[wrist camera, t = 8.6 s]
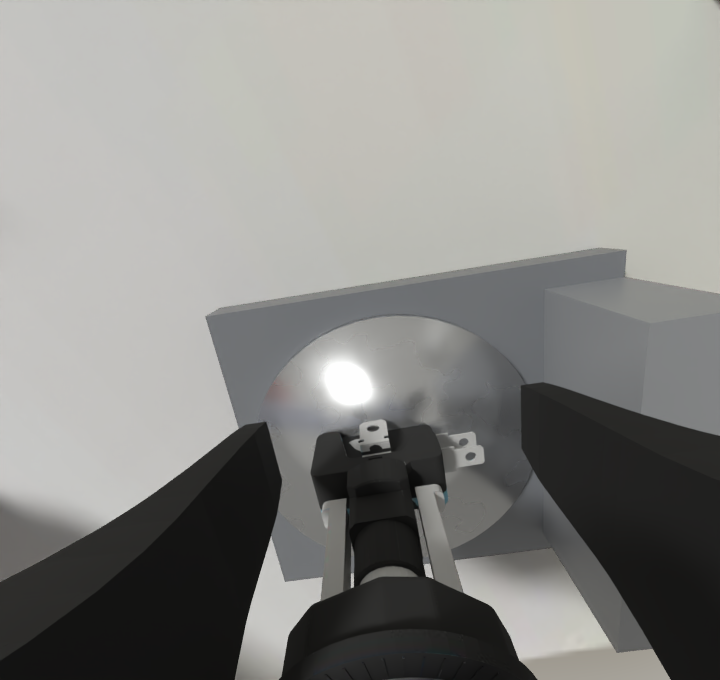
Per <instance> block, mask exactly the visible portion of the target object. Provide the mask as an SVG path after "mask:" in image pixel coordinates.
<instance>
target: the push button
mask: <svg viewBox="0 0 720 680" xmlns="http://www.w3.org/2000/svg"><path fill="white" fill-rule="evenodd" d="M373 426H377V427H379V429H378V430H377V431H374V432H369V431H367V430H368V428H370V427H373ZM359 429H360V435H357V436H352V437H346V438H342V437H341V434H340V433H339V432H329V433H323V434H321V435H319V436H318V437H317V440H316V445H315V451H314V456H313V461H312V466H311V472H310V473H311V477H312V481H313V484H314V488H315V492H316V495H317V499H318V503H319V506H320V509H321V513H322V519H323V522H324V526H325V527H326V528H327V540H326V550H325V561H324V571H323V582H322V592H321V601H320V602H317V603H315V604H313V605H312V606H311V607H310V608H309V609H308V610H307V612H306V613H305V614H304V615H303V617H302V618H301V619H300V621H299V622H298V623H297V624H296V626H295V627H294V628H293V629H292V631H291V632H290V634H289V637H288V642H287V648H286V654H285V660H284V666H283V672H282V677H281V678H280V679H279V680H537V679H536V677H535V676H534V675H533V673H532V672H531V671H530V670H529V669H528V668H527V667H526V666H525V665H524V664H523V663H521V662H520V661H519V659H518V657H517V654H516V651H515V649H514V646H513V643H512V641H511V638H510V636H509V634H508V632H507V630H506V629H505V627H504V625H503V624H502V622H501V620H500V619H499V617H498V615H497V614H496V612H495V610H494V609H493V608H492V607H491V606H489V605H488V604H486V603H483V602H481V601H479V600H477V599H475V598H473V597H471V596H468V595H466V594H464V593H463V590H462V586H461V583H460V579H459V576H458V572H457V569H456V566H455V562H454V559H453V555H452V552H451V549H450V545H449V542H448V538H447V535H446V531H445V528H444V525H443V521H442V518H441V514H440V513H441V512H443V511H444V510H445V504H446V503H447V502H448V493H447V485H446V478H445V473H448V472H454V471H457V468H458V467H465V466H471V465H477V464H483V463H484V462H485V460H484V449H483V446H481V445H477V444H476V434H475V433H474V432H467V433H461V434H455V435H449V436H448V433H441V434H435V433H434V432H433V431H432V428H431V427H430V426H429V425H417V426H411V427H405V428H399V429H393V430H387V424H386V421H385V420H382V419H381V420H375V421H369V422H363V423H362V424H361V425H359ZM463 438H466V439H468V444H467V445H465V446H461V445H459V441H460V440H461V439H463ZM469 452H473V453H475V454H476V456H475V458H474V459H472V460H467V459H466V458H465V456H466V454H467V453H469ZM414 509H418V510H419V515H420V519H421V524H422V528H423V533H424V537H425V542H426V546H427V551H428V555H429V560H430V564H431V569H432V573H433V578H434V579H432V578H429V577H426V575H425V570H424V565H423V554H422V548H421V542H420V537H419V531H418V525H417V520H416V515H415V510H414ZM351 543H352V547H353V551H354V588H351Z"/></svg>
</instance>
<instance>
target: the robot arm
mask: <svg viewBox="0 0 720 680" xmlns="http://www.w3.org/2000/svg"><path fill="white" fill-rule="evenodd" d="M521 447H522V450H523V452H524V454H525V456H526V458H527V459H528V461H529V463H530V465H531V467H532V469H533V470H534V472H535V474H536V476H537V477H538V479H539V481H540V482H541V484H542V485H543V486H544V488H545V489H546V491H547V492H548V493H549V495H550V496H551V497H552V499H553V500H554V502H555V503H556V504H557V506H558V507H559V508H560V510H561V511H562V512H563V514H564V515H565V516H566V518H567V519H568V520H569V522H570V523H571V524H572V526H573V527H574V529H575V530H576V531H577V533H578V534H579V535H580V537H581V538H582V539H583V541H584V542H585V543H586V545H587V546H588V547H589V549H590V550H591V551H592V553H593V554H594V555H595V557H596V558H597V560H598V561H599V563H600V564H601V566H602V567H603V568H604V570H605V571H606V573H607V574H608V576H609V577H610V579H611V580H612V582H613V584H614V585H615V587H616V588H617V590H618V592H619V593H620V595H621V597H622V598H623V600H624V601H625V603H626V605H627V606H628V608H629V610H630V611H631V613H632V615H633V616H634V618H635V619H636V621H637V623H638V624H639V626H640V628H641V629H642V631H643V633H644V635H645V636H646V638H647V640H648V641H649V643H650V645H651V647H652V648H653V650H654V652H655V653H656V655H657V657H658V658H659V660H660V662H661V664H662V665H663V667H664V669H665V670H666V672H667V674H668V676H669V677H670V679H671V680H720V436H719V435H715V434H710V433H706V432H702V431H698V430H695V429H691V428H687V427H683V426H680V425H676V424H673V423H670V422H666V421H663V420H660V419H656V418H653V417H650V416H646V415H643V414H640V413H637V412H634V411H631V410H628V409H625V408H622V407H619V406H616V405H613V404H610V403H607V402H604V401H601V400H598V399H595V398H592V397H589V396H587V395H584V394H581V393H578V392H575V391H572V390H569V389H566V388H563V387H560V386H556V385H553V384H549V383H545V382H540V383H533V384H526V385H521ZM281 487H282V478H281V474H280V470H279V466H278V463H277V459H276V455H275V451H274V448H273V444H272V440H271V437H270V433H269V429H268V425H267V422H260V423H253V424H246V425H244V426H243V427H241V428H239V429H238V430H237V431H235V432H234V433H232V434H231V435H230V436H229V437H227V438H226V439H225V440H223V441H222V442H221V443H220V444H218V445H217V446H216V447H215V448H213V449H212V450H211V451H209V452H208V453H207V454H206V455H204V456H203V457H202V458H201V459H199V460H198V461H197V462H196V463H194V464H193V465H192V466H190V467H189V468H188V469H186V470H185V471H184V472H182V473H181V474H180V475H178V476H177V477H176V478H174V479H173V480H171V481H170V482H169V483H167V484H166V485H165V486H163V487H162V488H161V489H159V490H158V491H157V492H155V493H154V494H152V495H151V496H149V497H148V498H147V499H145V500H144V501H142V502H141V503H139V504H138V505H136V506H135V507H133V508H132V509H130V510H128V511H127V512H125V513H124V514H122V515H120V516H119V517H117V518H116V519H114V520H113V521H111V522H109V523H108V524H106V525H104V526H103V527H101V528H99V529H98V530H96V531H94V532H93V533H91V534H89V535H87V536H85V537H84V538H82V539H80V540H78V541H76V542H75V543H73V544H71V545H69V546H68V547H66V548H64V549H62V550H60V551H59V552H57V553H55V554H53V555H52V556H50V557H48V558H46V559H44V560H42V561H41V562H39V563H37V564H35V565H33V566H31V567H29V568H27V569H25V570H23V571H21V572H19V573H17V574H15V575H13V576H11V577H9V578H7V579H5V580H3V581H1V582H0V680H235V675H236V669H237V664H238V660H239V655H240V650H241V645H242V640H243V635H244V630H245V625H246V621H247V617H248V613H249V609H250V605H251V601H252V598H253V594H254V591H255V588H256V584H257V581H258V578H259V574H260V571H261V568H262V564H263V561H264V558H265V554H266V551H267V548H268V544H269V541H270V538H271V534H272V531H273V527H274V524H275V520H276V517H277V512H278V506H279V500H280V494H281Z"/></svg>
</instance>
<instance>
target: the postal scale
mask: <svg viewBox="0 0 720 680" xmlns="http://www.w3.org/2000/svg"><path fill="white" fill-rule="evenodd" d="M625 264H626V250H620V249H607V248H596V249H589V250H583V251H577V252H571V253H564V254H558V255H552V256H545V257H539V258H533V259H526V260H520V261H514V262H508V263H501V264H495V265H489V266H482V267H476V268H470V269H463V270H457V271H451V272H444V273H438V274H432V275H426V276H419V277H413V278H407V279H400V280H394V281H388V282H381V283H375V284H369V285H363V286H356V287H350V288H344V289H337V290H331V291H325V292H318V293H312V294H306V295H299V296H293V297H287V298H281V299H274V300H268V301H262V302H255V303H249V304H243V305H236V306H230V307H224V308H219V309H218V310H216V311H214V312H212V313H211V314H209V315H207V316H205V317H206V320H207V324H208V327H209V330H210V334H211V337H212V340H213V344H214V347H215V350H216V353H217V357H218V360H219V363H220V367H221V370H222V373H223V377H224V380H225V383H226V387H227V390H228V393H229V397H230V400H231V403H232V407H233V410H234V413H235V417H236V420H237V423H238V427H239V428H241V427H243V426H244V425H246V424H253V423H260V422H267V425H268V429H269V433H270V437H271V440H272V444H273V448H274V451H275V455H276V459H277V463H278V466H279V470H280V474H281V478H282V487H281V494H280V500H279V506H278V512H277V517H276V520H275V524H274V527H273V531H272V534H271V536H272V540H273V543H274V546H275V550H276V553H277V556H278V560H279V563H280V566H281V570H282V573H283V576H284V580H285V582H287V581H295V580H303V579H310V578H318V577H323V571H324V561H325V550H326V540H327V528H326V527H325V526H324V522H323V519H322V513H321V509H320V506H319V503H318V499H317V495H316V492H315V488H314V484H313V481H312V477H311V473H310V472H311V466H312V461H313V456H314V451H315V445H316V440H317V437H318V436H319V435H321V434H323V433H329V432H339V433H340V434H341V437H342V438H346V437H352V436H357V435H360V429H359V425H361V424H362V423H363V422H369V421H375V420H381V419H382V420H385V421H386V424H387V430H393V429H399V428H405V427H411V426H417V425H429V426H430V427H431V428H432V431H433V432H434V433H435V434H441V433H448V436H449V435H455V434H461V433H467V432H474V433H475V434H476V444H477V445H481V446H483V449H484V460H485V462H484V463H483V464H477V465H471V466H465V467H458V468H457V471H454V472H448V473H445V478H446V485H447V493H448V502H447V503H446V504H445V510H444V511H443V512H441V513H440V514H441V518H442V521H443V525H444V528H445V531H446V535H447V538H448V542H449V545H450V549H451V552H452V555H453V559H454V560H460V559H467V558H475V557H483V556H491V555H499V554H507V553H515V552H522V551H530V550H538V549H546V548H553V550H554V551H555V553H556V555H557V556H558V558H559V559H560V561H561V563H562V564H563V566H564V568H565V569H566V571H567V572H568V574H569V576H570V577H571V579H572V581H573V582H574V584H575V585H576V587H577V589H578V590H579V592H580V594H581V595H582V597H583V598H584V600H585V602H586V603H587V605H588V607H589V608H590V610H591V611H592V613H593V615H594V616H595V618H596V620H597V621H598V623H599V624H600V626H601V628H602V629H603V631H604V633H605V634H606V636H607V637H608V639H609V641H610V642H611V644H612V646H613V647H614V649H615V650H616V652H617V653H619V652H627V651H636V650H644V649H653V648H652V647H651V645H650V643H649V641H648V640H647V638H646V636H645V635H644V633H643V631H642V629H641V628H640V626H639V624H638V623H637V621H636V619H635V618H634V616H633V615H632V613H631V611H630V610H629V608H628V606H627V605H626V603H625V601H624V600H623V598H622V597H621V595H620V593H619V592H618V590H617V588H616V587H615V585H614V584H613V582H612V580H611V579H610V577H609V576H608V574H607V573H606V571H605V570H604V568H603V567H602V566H601V564H600V563H599V561H598V560H597V558H596V557H595V555H594V554H593V553H592V551H591V550H590V549H589V547H588V546H587V545H586V543H585V542H584V541H583V539H582V538H581V537H580V535H579V534H578V533H577V531H576V530H575V529H574V527H573V526H572V524H571V523H570V522H569V520H568V519H567V518H566V516H565V515H564V514H563V512H562V511H561V510H560V508H559V507H558V506H557V504H556V503H555V502H554V500H553V499H552V497H551V496H550V495H549V493H548V492H547V491H546V489H545V488H544V486H543V485H542V484H541V482H540V481H539V479H538V477H537V476H536V474H535V472H534V470H533V469H532V467H531V465H530V463H529V461H528V459H527V458H526V456H525V454H524V452H523V450H522V447H521V385H526V384H533V383H540V382H545V383H549V384H553V385H556V386H560V387H563V388H566V389H569V390H572V391H575V392H578V393H581V394H584V395H587V396H589V397H592V398H595V399H598V400H601V401H604V402H607V403H610V404H613V405H616V406H619V407H622V408H625V409H628V410H631V411H634V412H637V413H640V414H643V415H646V416H650V417H653V418H656V419H660V420H663V421H666V422H670V423H673V424H676V425H680V426H683V427H687V428H691V429H695V430H698V431H702V432H706V433H710V434H715V435H719V436H720V294H717V293H711V292H706V291H700V290H694V289H689V288H683V287H678V286H672V285H667V284H661V283H655V282H650V281H644V280H639V279H633V278H627V277H625ZM378 429H379V427H377V426H373V427H370V428H368V430H367V431H369V432H374V431H377V430H378ZM467 444H468V439H466V438H463V439H461V440H460V441H459V445H461V446H465V445H467ZM475 456H476V454H475V453H473V452H469V453H467V454H466V456H465V458H466V459H467V460H472V459H474V458H475ZM414 510H415V515H416V520H417V525H418V531H419V537H420V542H421V548H422V554H423V564H428V563H430V560H429V555H428V551H427V546H426V542H425V537H424V533H423V528H422V524H421V519H420V515H419V510H418V509H414ZM351 573H354V551H353V547H352V543H351Z"/></svg>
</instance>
